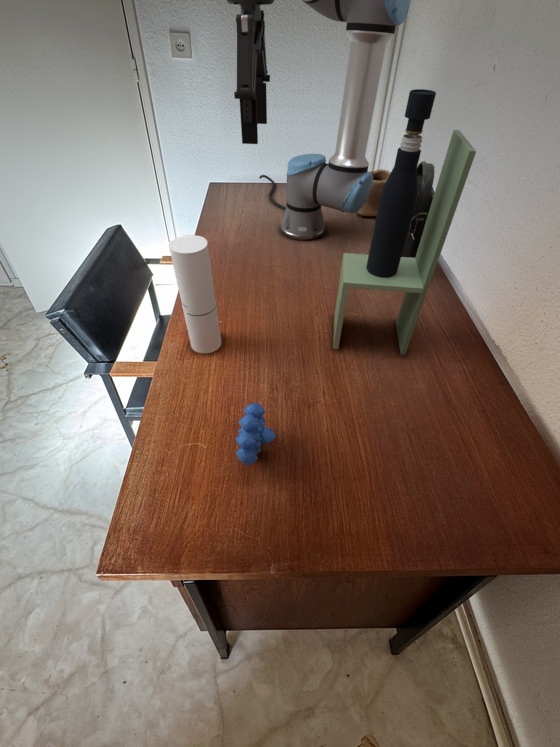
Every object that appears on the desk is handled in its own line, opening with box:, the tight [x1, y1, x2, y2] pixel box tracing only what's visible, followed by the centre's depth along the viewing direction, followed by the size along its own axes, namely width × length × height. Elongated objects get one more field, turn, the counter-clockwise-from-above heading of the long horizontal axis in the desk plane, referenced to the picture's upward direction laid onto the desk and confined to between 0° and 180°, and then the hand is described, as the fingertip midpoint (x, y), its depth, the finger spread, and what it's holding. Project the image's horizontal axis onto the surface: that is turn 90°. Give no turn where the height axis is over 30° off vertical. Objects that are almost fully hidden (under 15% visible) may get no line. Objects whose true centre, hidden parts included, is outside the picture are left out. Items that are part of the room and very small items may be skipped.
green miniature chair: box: [332, 129, 477, 356], centre depth 75 cm, size 12×17×42 cm
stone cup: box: [355, 168, 391, 217], centre depth 133 cm, size 15×12×15 cm
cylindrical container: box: [168, 234, 222, 355], centre depth 79 cm, size 7×7×25 cm
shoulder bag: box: [401, 160, 435, 258], centre depth 104 cm, size 23×9×28 cm, turn 172°
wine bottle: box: [366, 88, 437, 278], centre depth 66 cm, size 6×6×30 cm
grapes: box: [234, 402, 277, 466], centre depth 63 cm, size 12×7×12 cm, turn 171°
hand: (255, 132), depth 70 cm, fingers open, 13 cm apart
